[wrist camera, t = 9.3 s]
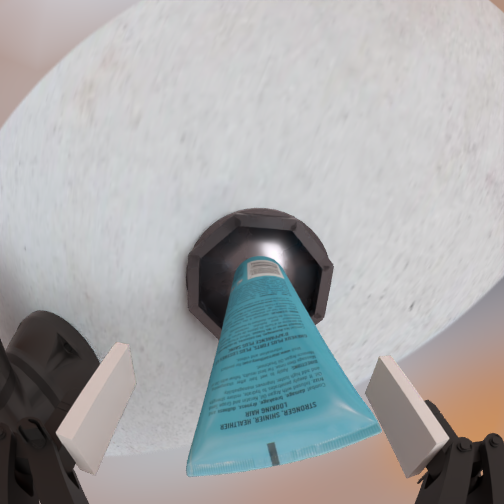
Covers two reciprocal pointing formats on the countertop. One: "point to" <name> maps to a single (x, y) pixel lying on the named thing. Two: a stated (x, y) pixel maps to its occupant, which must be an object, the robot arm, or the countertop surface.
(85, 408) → the robot arm
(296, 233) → the octagonal bowl
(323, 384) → the tube
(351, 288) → the countertop surface
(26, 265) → the countertop surface
